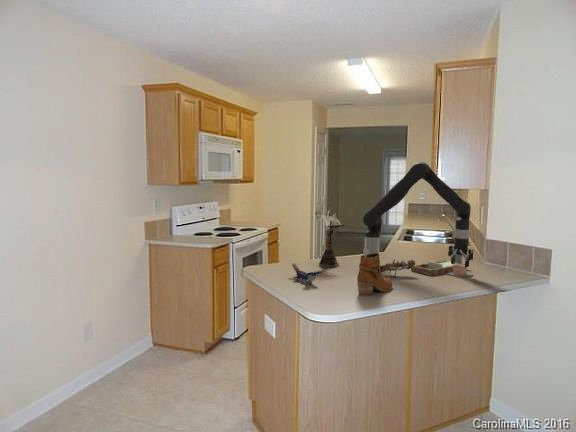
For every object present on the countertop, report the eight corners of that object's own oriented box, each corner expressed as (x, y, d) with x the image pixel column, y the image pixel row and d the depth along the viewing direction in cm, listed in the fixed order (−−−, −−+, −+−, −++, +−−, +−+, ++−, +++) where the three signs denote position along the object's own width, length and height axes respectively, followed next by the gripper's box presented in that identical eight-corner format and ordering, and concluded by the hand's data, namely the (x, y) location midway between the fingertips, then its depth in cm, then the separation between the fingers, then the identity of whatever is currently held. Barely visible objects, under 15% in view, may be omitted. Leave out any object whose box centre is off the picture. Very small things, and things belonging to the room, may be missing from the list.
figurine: (363, 261, 226) (411, 252, 227) (365, 275, 230) (412, 266, 230) (368, 270, 217) (418, 261, 217) (369, 285, 221) (419, 276, 221)
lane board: (430, 275, 224) (430, 270, 224) (411, 270, 236) (411, 265, 236) (464, 269, 240) (464, 264, 239) (444, 265, 251) (444, 260, 251)
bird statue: (347, 268, 242) (349, 210, 238) (328, 270, 237) (329, 210, 234) (335, 262, 257) (336, 208, 254) (316, 264, 252) (317, 208, 249)
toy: (304, 292, 202) (306, 273, 199) (284, 272, 221) (286, 255, 218) (321, 289, 207) (324, 271, 204) (300, 270, 226) (302, 253, 223)
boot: (384, 285, 205) (385, 248, 203) (399, 289, 197) (400, 251, 195) (349, 292, 191) (350, 253, 189) (364, 297, 183) (365, 256, 181)
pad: (462, 278, 220) (462, 277, 219) (446, 274, 228) (446, 273, 228) (473, 275, 225) (473, 274, 225) (457, 272, 233) (457, 271, 233)
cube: (460, 275, 223) (461, 266, 222) (452, 273, 227) (453, 264, 227) (466, 274, 226) (466, 265, 225) (458, 272, 230) (458, 264, 229)
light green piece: (441, 270, 232) (441, 254, 231) (428, 267, 240) (428, 251, 239) (464, 266, 244) (465, 250, 243) (452, 263, 251) (452, 248, 250)
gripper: (446, 235, 228) (444, 263, 230) (468, 239, 216) (466, 269, 218) (454, 234, 232) (453, 262, 234) (477, 238, 220) (475, 267, 222)
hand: (459, 265), depth 226 cm, fingers open, 8 cm apart
